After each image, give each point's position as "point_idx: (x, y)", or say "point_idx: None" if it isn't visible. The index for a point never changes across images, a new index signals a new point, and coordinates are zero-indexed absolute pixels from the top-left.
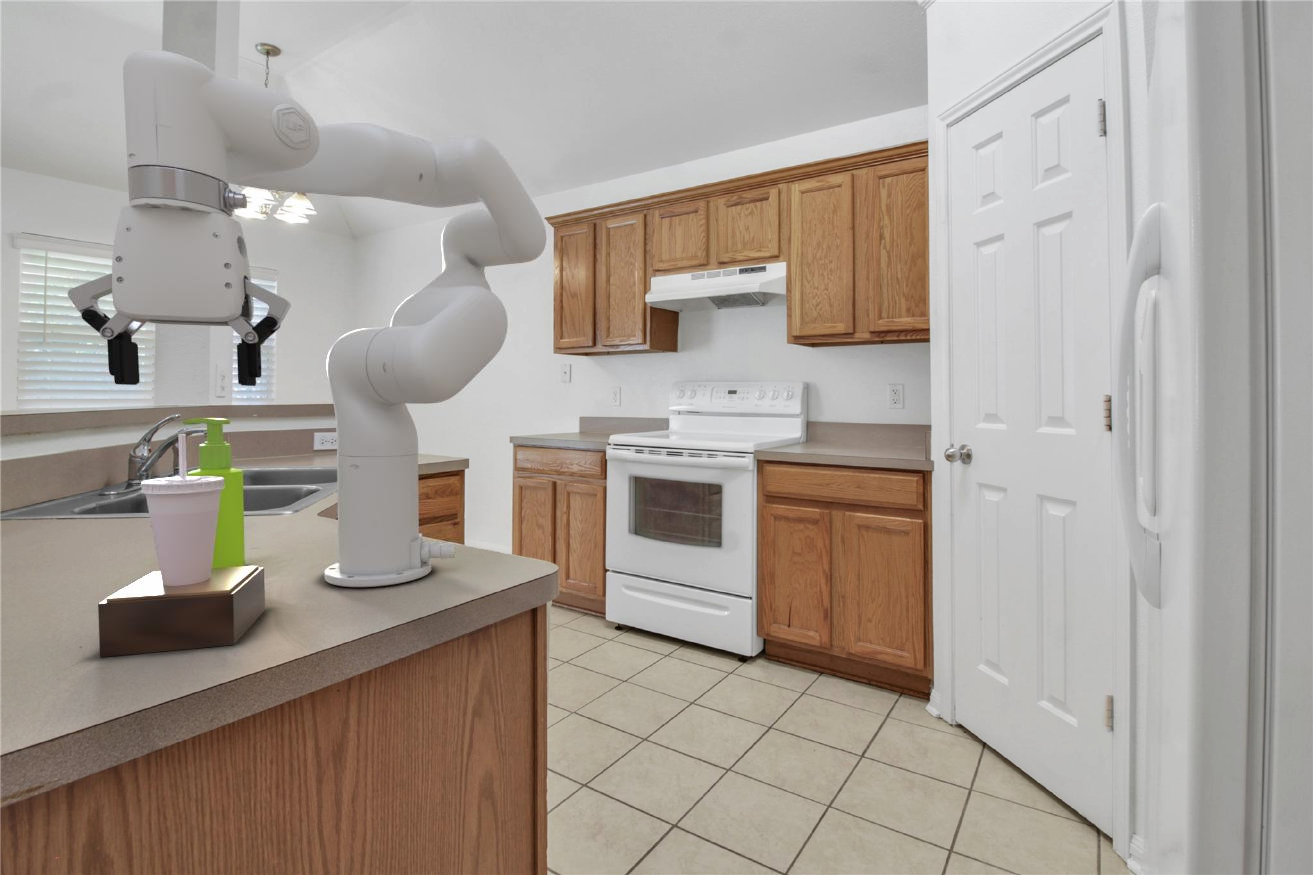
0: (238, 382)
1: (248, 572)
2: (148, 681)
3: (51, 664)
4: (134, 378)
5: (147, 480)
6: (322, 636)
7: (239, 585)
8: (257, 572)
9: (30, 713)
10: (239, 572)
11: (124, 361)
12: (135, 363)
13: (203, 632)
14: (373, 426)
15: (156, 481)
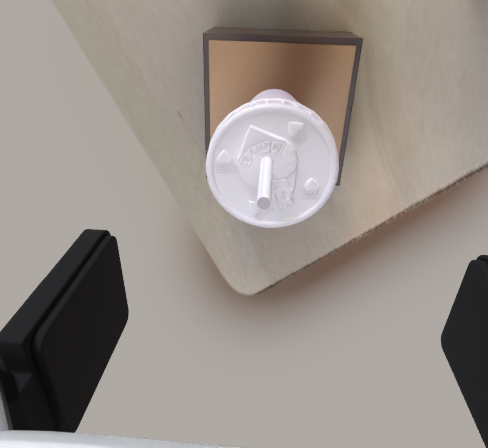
0: (441, 344)
1: (346, 93)
2: (279, 227)
3: (179, 160)
4: (115, 274)
5: (210, 168)
6: (418, 164)
7: (341, 147)
8: (356, 77)
9: (221, 256)
10: (333, 90)
11: (102, 364)
12: (88, 298)
13: None
14: None
15: (226, 171)
